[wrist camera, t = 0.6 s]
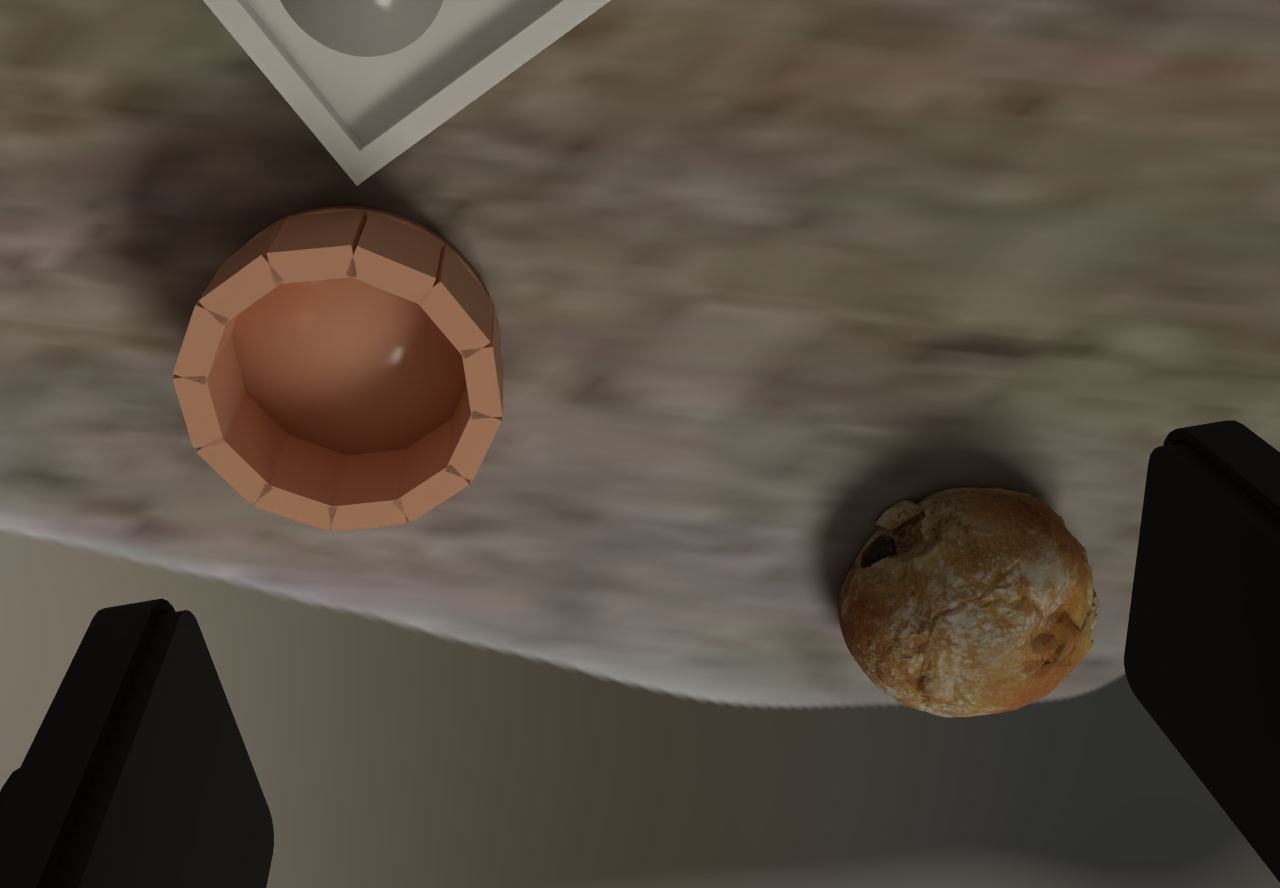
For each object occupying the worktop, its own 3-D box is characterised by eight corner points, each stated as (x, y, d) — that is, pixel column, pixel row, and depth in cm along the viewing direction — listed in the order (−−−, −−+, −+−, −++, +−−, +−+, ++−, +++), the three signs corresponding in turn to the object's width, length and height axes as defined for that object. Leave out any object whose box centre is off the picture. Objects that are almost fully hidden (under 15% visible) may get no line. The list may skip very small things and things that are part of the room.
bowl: (375, 145, 36) (359, 183, 33) (555, 370, 41) (560, 426, 37) (146, 313, 38) (107, 367, 35) (343, 510, 43) (327, 576, 39)
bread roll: (946, 414, 48) (942, 465, 40) (1146, 560, 47) (1179, 639, 40) (808, 580, 51) (782, 655, 44) (992, 718, 51) (996, 818, 43)
